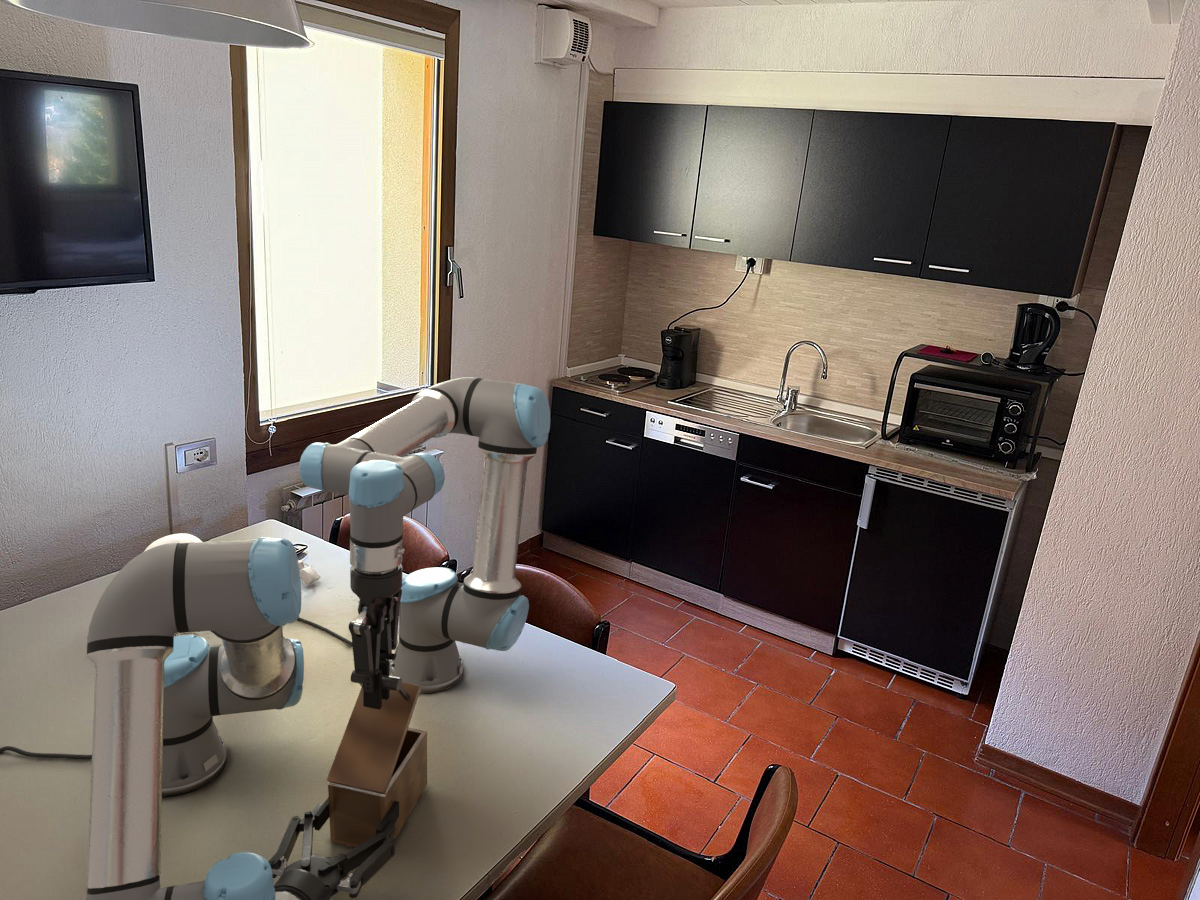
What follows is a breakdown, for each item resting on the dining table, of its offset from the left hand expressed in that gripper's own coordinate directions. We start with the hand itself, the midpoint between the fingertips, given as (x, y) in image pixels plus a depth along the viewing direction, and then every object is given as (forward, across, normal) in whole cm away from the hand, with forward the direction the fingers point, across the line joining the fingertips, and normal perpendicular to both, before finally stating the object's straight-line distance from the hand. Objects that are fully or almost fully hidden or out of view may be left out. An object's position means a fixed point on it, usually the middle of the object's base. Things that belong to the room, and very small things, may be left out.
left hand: (367, 801), depth 135 cm
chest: (+5, 0, -6) cm, 8 cm away
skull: (+58, -76, -6) cm, 96 cm away
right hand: (+3, 0, +16) cm, 17 cm away
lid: (+3, 0, +10) cm, 11 cm away
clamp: (+77, -61, -6) cm, 98 cm away
